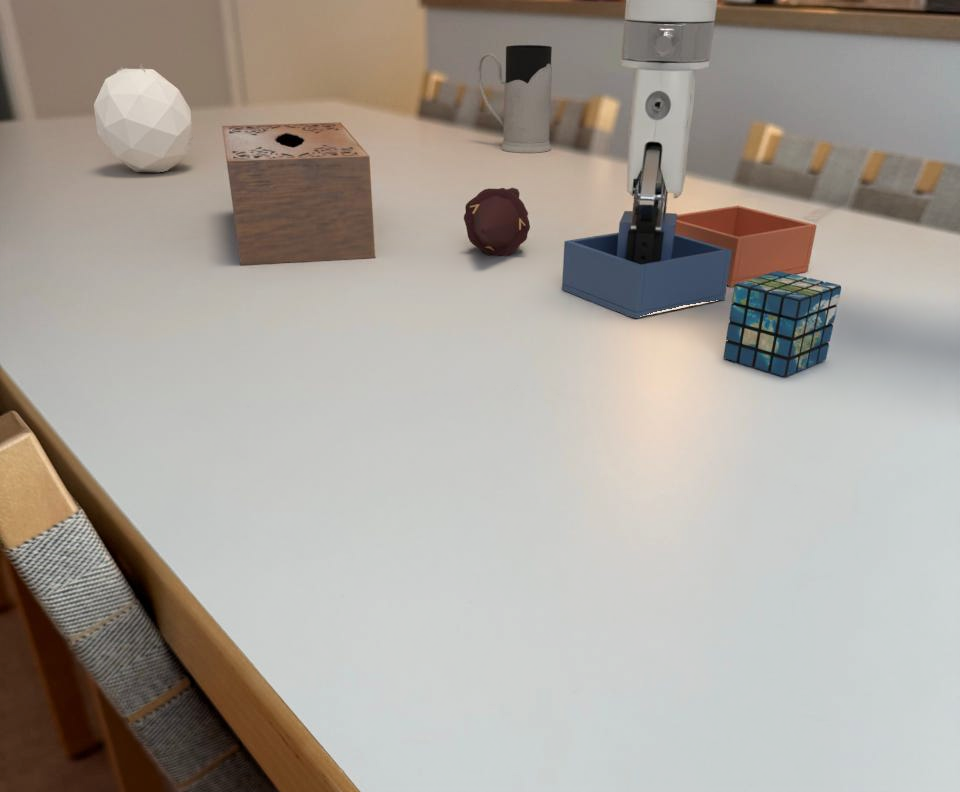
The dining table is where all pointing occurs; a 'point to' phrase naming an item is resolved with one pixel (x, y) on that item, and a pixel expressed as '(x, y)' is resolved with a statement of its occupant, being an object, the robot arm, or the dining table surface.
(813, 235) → the terracotta bin
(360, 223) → the tissue box cover
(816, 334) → the puzzle
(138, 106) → the geodesic sphere
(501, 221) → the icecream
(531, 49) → the glass holder
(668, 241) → the blue block
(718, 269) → the blue bin
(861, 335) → the dining table surface
